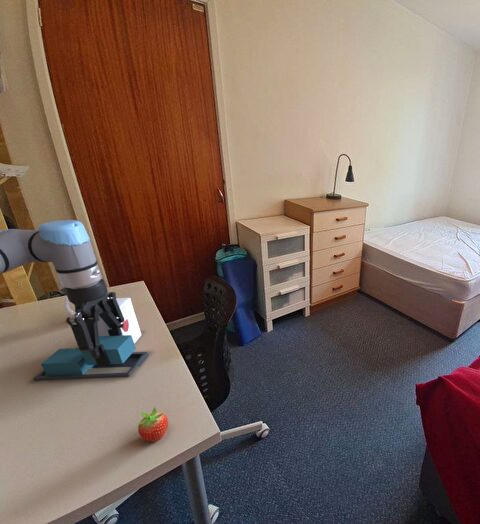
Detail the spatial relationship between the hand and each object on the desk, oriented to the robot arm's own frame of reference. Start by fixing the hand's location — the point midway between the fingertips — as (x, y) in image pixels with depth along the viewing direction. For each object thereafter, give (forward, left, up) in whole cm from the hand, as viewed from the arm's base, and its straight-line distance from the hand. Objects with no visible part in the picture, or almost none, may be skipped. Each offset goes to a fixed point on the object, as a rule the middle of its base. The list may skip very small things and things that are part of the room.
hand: (112, 355), depth 79 cm
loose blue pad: (0, 0, 0) cm, 0 cm away
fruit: (+22, -22, -5) cm, 32 cm away
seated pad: (-11, 0, -4) cm, 12 cm away
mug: (-25, +26, -5) cm, 36 cm away
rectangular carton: (-6, +11, -5) cm, 13 cm away
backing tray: (-6, 0, -5) cm, 7 cm away
